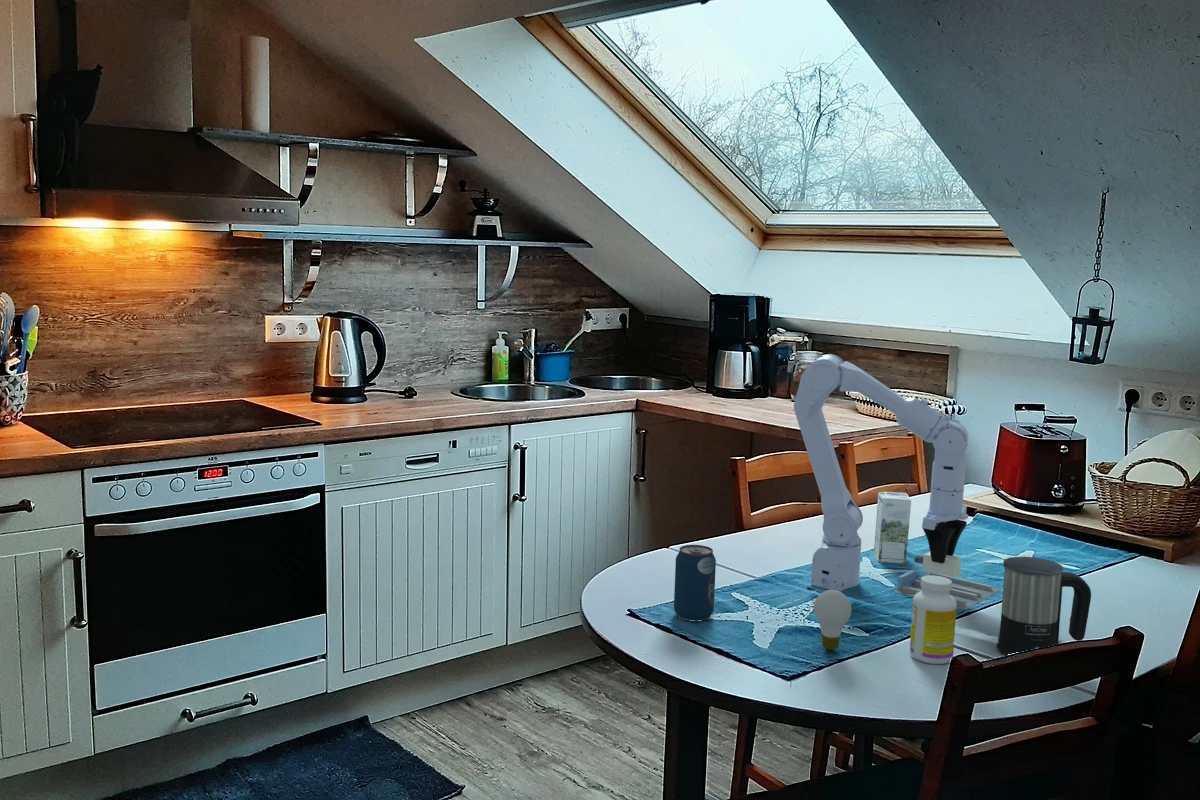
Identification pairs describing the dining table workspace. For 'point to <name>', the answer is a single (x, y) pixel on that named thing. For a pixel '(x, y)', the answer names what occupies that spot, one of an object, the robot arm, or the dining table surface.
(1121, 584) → the dining table surface
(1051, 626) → the milk frother
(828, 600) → the light bulb
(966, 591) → the grey flat ridged plate
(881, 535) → the syrup box
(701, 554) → the soda can
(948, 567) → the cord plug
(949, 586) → the supplement bottle
